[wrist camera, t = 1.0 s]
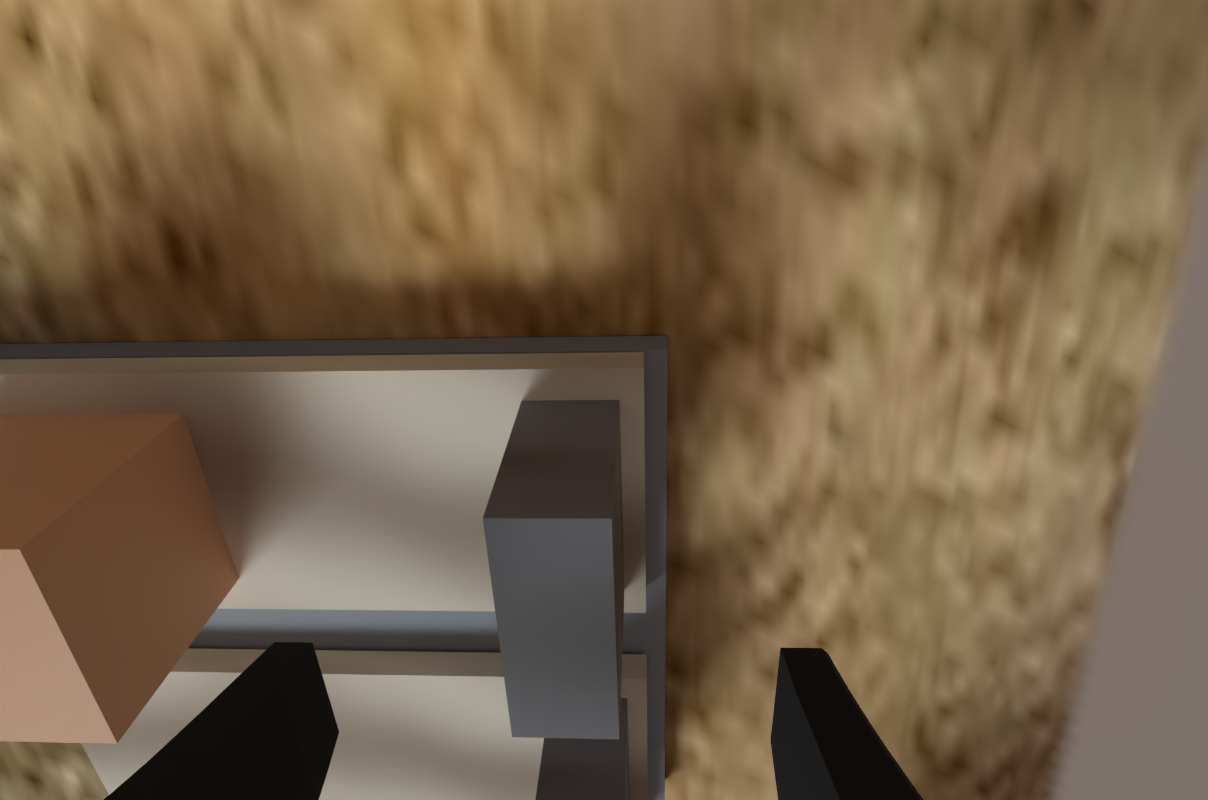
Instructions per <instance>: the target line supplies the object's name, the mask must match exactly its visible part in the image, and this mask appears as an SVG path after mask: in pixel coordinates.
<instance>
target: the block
mask: <svg viewBox="0 0 1208 800" xmlns="http://www.w3.org/2000/svg"><path fill="white" fill-rule="evenodd" d="M238 579H239V578H238V575H237V572H236V569H235V566H234V563H233V560H232V557H231V554H230V551H229V548H228V545H227V542H226V539H225V536H224V533H223V530H222V528H221V525H220V522H219V519H218V516H217V513H216V510H215V507H214V504H213V501H212V498H211V495H210V492H209V489H208V486H207V483H206V480H205V477H204V474H203V471H202V468H201V465H200V462H199V460H198V457H197V454H196V451H195V448H194V445H193V442H192V439H191V436H190V433H189V430H188V427H187V424H186V421H185V418H184V415H183V414H46V415H0V741H17V742H64V743H110V744H117V743H118V742H119V741H120V739H121V738H122V737H123V735H124V734H125V733H126V731H127V730H128V729H129V727H130V726H131V724H132V723H133V722H134V720H135V719H136V718H137V716H138V715H139V714H140V712H141V711H142V710H143V708H144V707H145V705H146V704H147V703H148V701H149V700H150V699H151V697H152V696H153V695H154V693H155V692H156V691H157V689H158V688H159V687H160V685H161V684H162V682H163V681H164V680H165V678H166V677H167V676H168V674H169V673H170V672H171V670H172V669H173V668H174V666H175V665H176V663H177V662H178V661H179V659H180V658H181V657H182V655H183V654H184V653H185V651H186V650H187V649H188V647H189V646H190V644H191V643H192V642H193V640H194V639H195V638H196V636H197V635H198V634H199V632H200V631H201V630H202V628H203V627H204V626H205V624H206V623H207V621H208V620H209V619H210V617H211V616H212V615H213V613H214V612H215V611H216V609H217V608H218V607H219V605H220V604H221V602H222V601H223V600H224V598H225V597H226V596H227V594H228V593H229V592H230V590H231V589H232V588H233V586H234V585H235V584H236V582H237V581H238Z"/></svg>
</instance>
